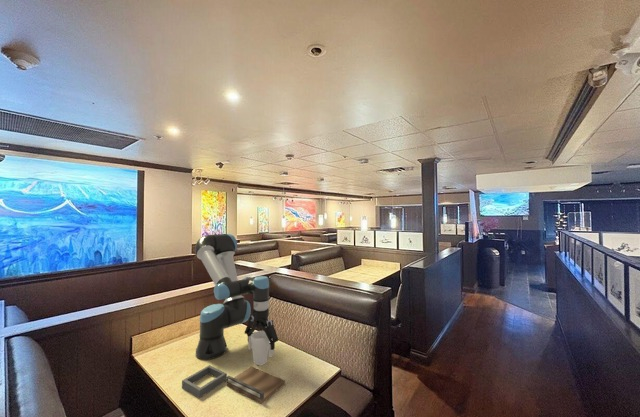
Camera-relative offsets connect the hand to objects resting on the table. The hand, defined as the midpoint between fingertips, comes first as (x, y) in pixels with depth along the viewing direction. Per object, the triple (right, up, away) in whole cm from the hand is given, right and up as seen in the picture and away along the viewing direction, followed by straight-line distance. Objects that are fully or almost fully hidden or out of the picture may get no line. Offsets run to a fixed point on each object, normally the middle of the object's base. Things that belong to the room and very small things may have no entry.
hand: (260, 352), depth 127 cm
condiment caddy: (-20, -4, -17) cm, 27 cm away
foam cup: (0, -5, 0) cm, 5 cm away
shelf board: (+2, -4, -18) cm, 18 cm away
